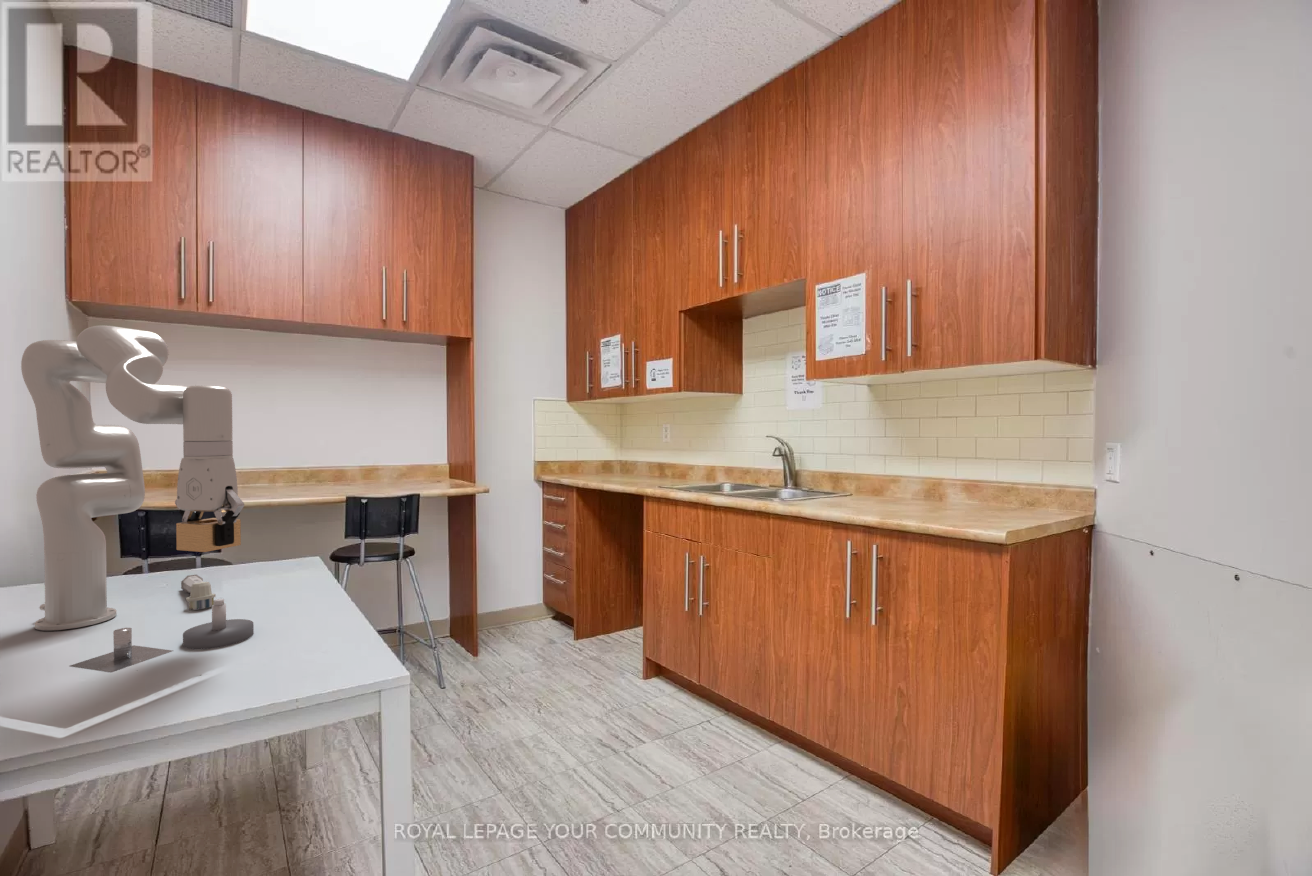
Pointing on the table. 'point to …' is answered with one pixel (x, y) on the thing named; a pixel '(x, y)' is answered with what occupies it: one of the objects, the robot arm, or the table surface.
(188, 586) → the toothbrush head
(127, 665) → the stand
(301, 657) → the table surface
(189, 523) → the collar
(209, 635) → the hub
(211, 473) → the robot arm
